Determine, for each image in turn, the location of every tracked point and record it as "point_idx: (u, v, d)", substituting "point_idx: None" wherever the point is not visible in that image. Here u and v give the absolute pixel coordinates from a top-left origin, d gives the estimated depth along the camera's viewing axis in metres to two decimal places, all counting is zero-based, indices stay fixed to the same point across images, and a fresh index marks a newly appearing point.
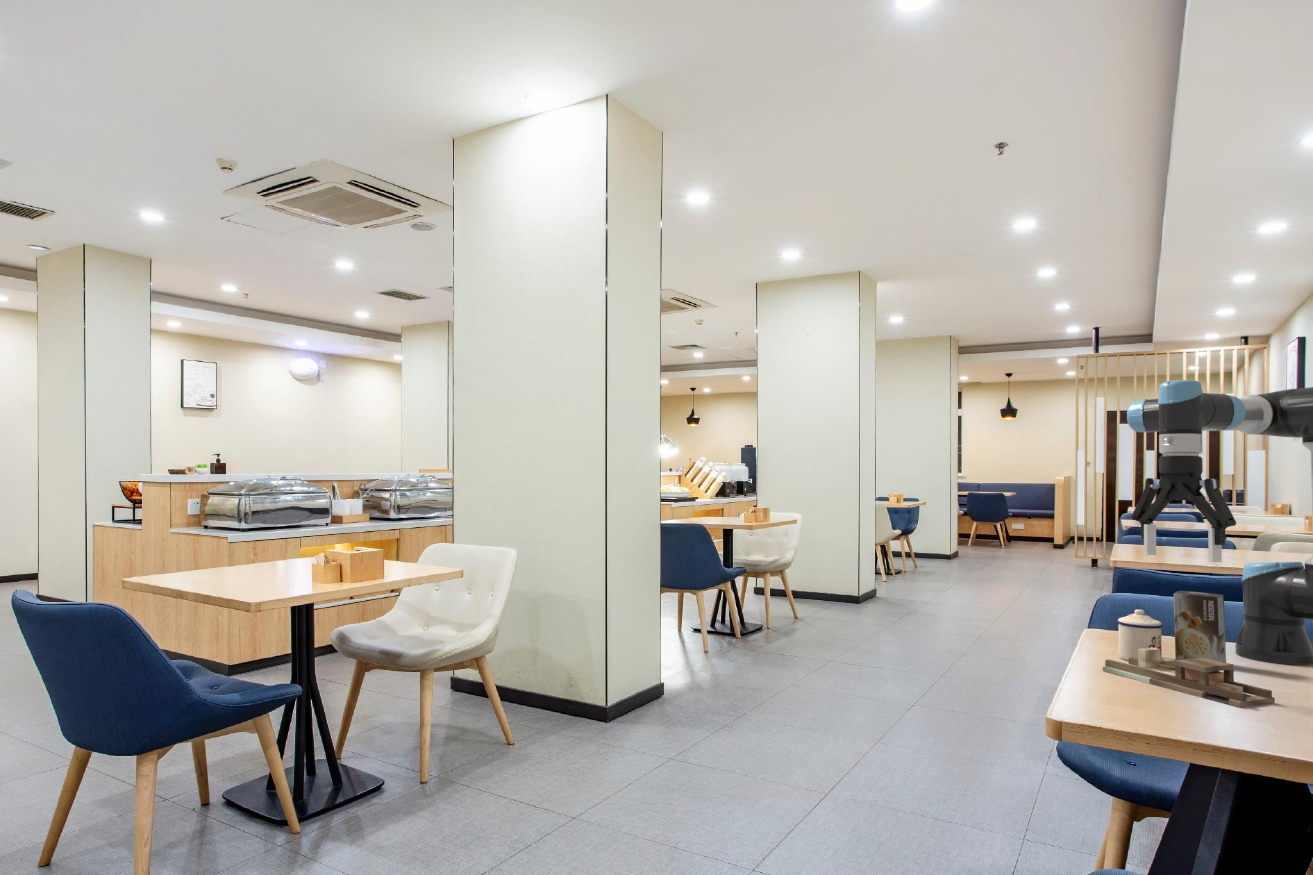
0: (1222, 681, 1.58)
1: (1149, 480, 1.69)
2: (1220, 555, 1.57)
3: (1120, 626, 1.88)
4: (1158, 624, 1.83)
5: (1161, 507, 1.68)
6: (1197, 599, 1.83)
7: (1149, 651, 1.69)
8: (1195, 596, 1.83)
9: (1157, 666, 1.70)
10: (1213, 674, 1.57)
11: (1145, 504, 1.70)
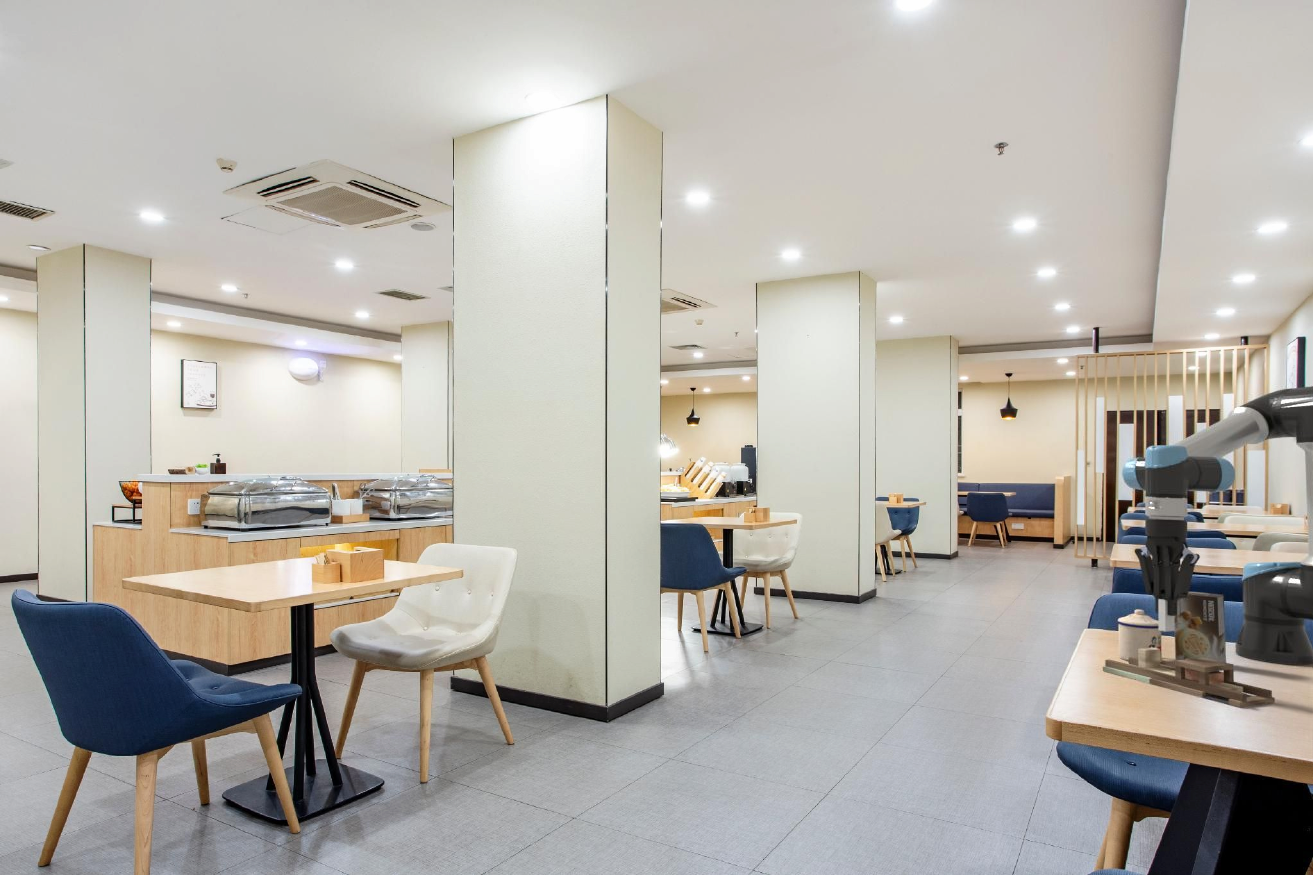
0: (1222, 681, 1.58)
1: (1137, 550, 1.72)
2: (1173, 625, 1.66)
3: (1120, 626, 1.88)
4: (1158, 624, 1.83)
5: (1163, 574, 1.68)
6: (1197, 599, 1.83)
7: (1149, 651, 1.69)
8: (1195, 596, 1.83)
9: (1157, 666, 1.70)
10: (1213, 674, 1.57)
11: (1149, 574, 1.70)
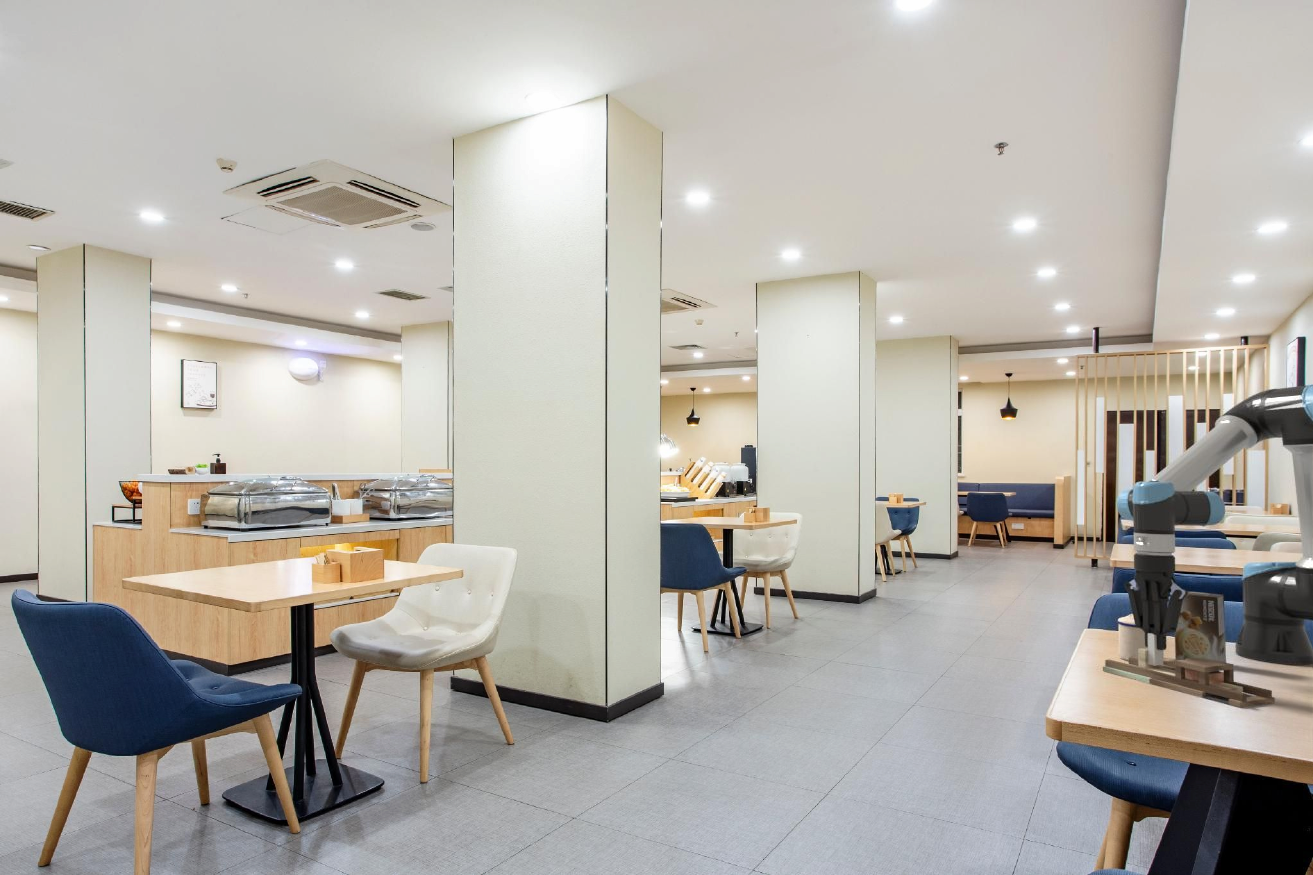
0: (1222, 681, 1.58)
1: (1126, 584, 1.74)
2: (1162, 658, 1.69)
3: (1120, 626, 1.88)
4: None
5: (1152, 608, 1.70)
6: (1197, 599, 1.83)
7: None
8: (1195, 596, 1.83)
9: (1157, 666, 1.70)
10: (1213, 674, 1.57)
11: (1138, 608, 1.72)
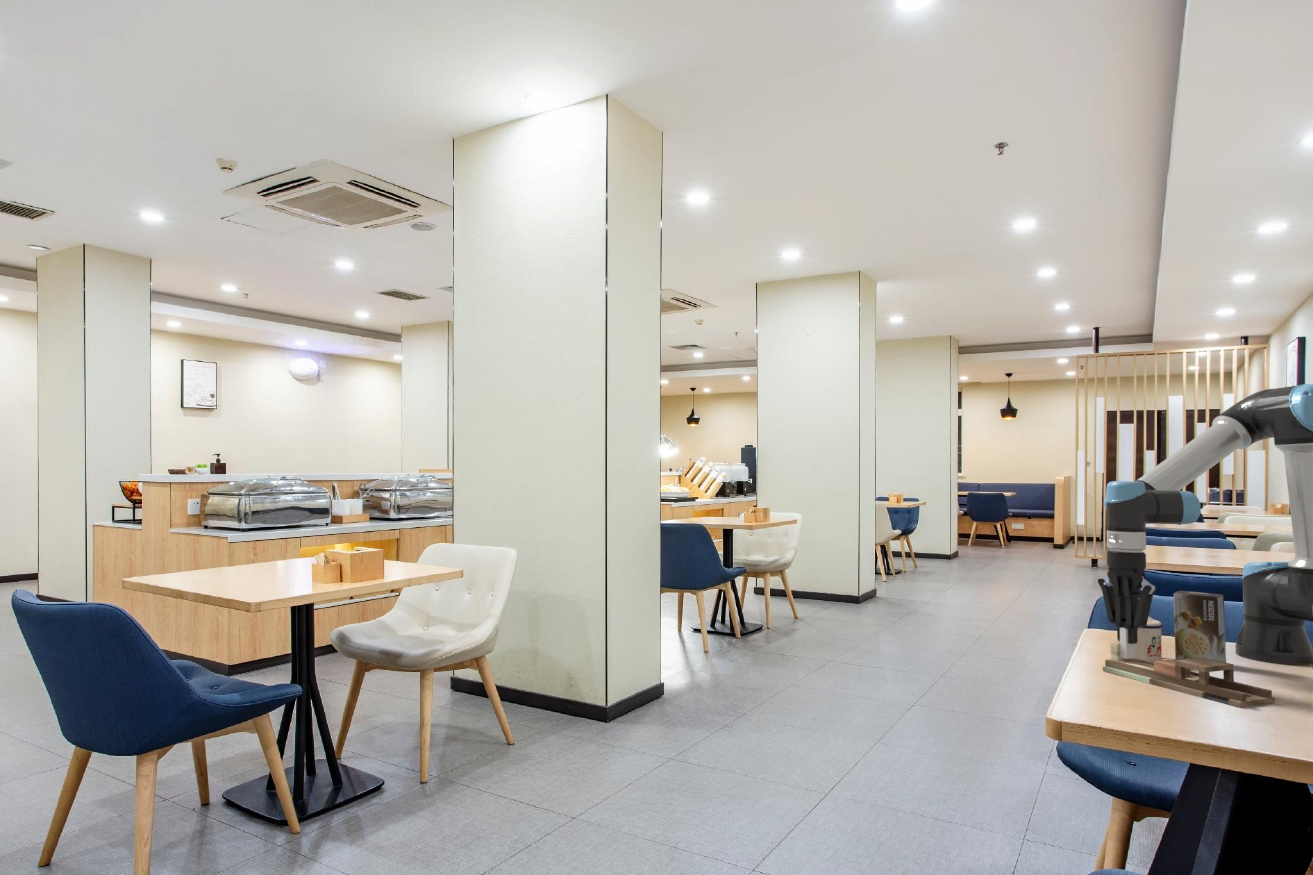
0: (1189, 673, 1.64)
1: (1100, 580, 1.80)
2: (1133, 652, 1.75)
3: None
4: (1158, 624, 1.83)
5: (1124, 603, 1.76)
6: (1196, 599, 1.83)
7: None
8: (1195, 596, 1.83)
9: (1129, 659, 1.76)
10: None
11: (1111, 603, 1.78)
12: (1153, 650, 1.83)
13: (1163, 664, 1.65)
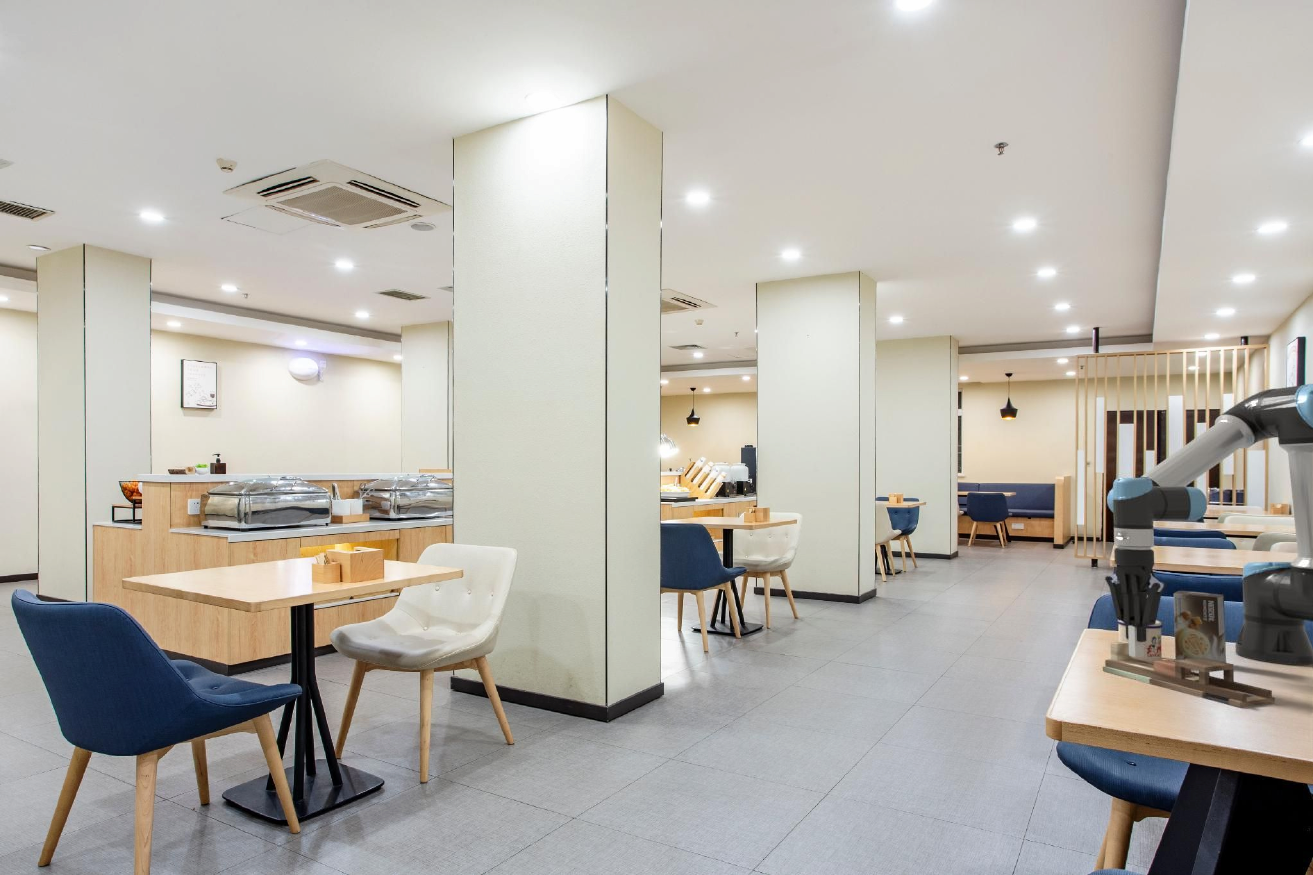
0: (1189, 673, 1.64)
1: (1108, 577, 1.79)
2: (1142, 650, 1.73)
3: (1120, 626, 1.88)
4: (1158, 624, 1.83)
5: (1133, 601, 1.75)
6: (1197, 599, 1.83)
7: (1121, 645, 1.75)
8: (1195, 596, 1.83)
9: (1129, 659, 1.76)
10: None
11: (1119, 601, 1.77)
12: (1153, 650, 1.83)
13: (1163, 664, 1.65)
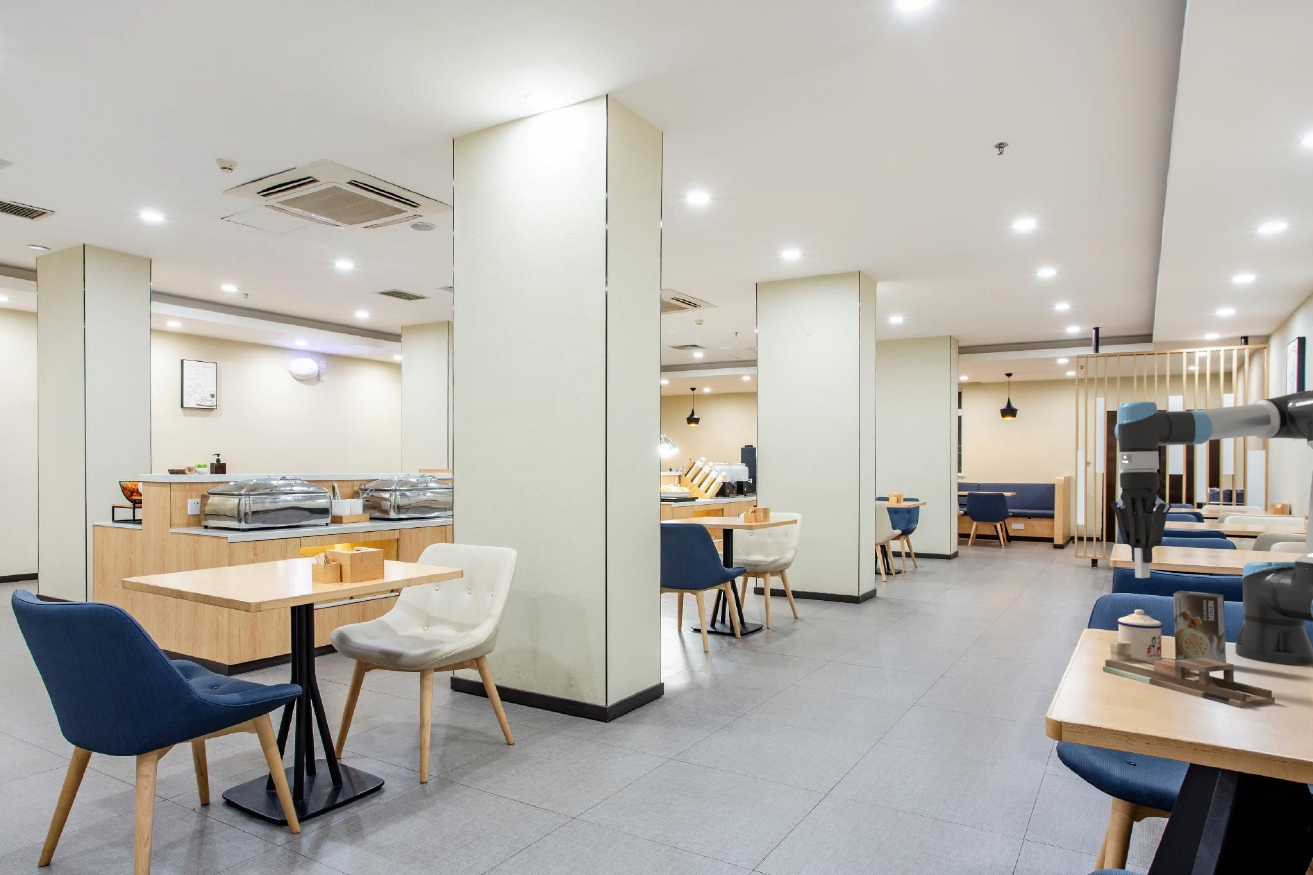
0: (1189, 673, 1.64)
1: (1113, 503, 1.81)
2: (1148, 571, 1.75)
3: (1120, 626, 1.88)
4: (1158, 624, 1.83)
5: (1138, 524, 1.77)
6: (1196, 599, 1.83)
7: (1121, 645, 1.75)
8: (1195, 596, 1.83)
9: (1129, 659, 1.76)
10: None
11: (1125, 525, 1.79)
12: (1153, 650, 1.83)
13: (1163, 664, 1.65)
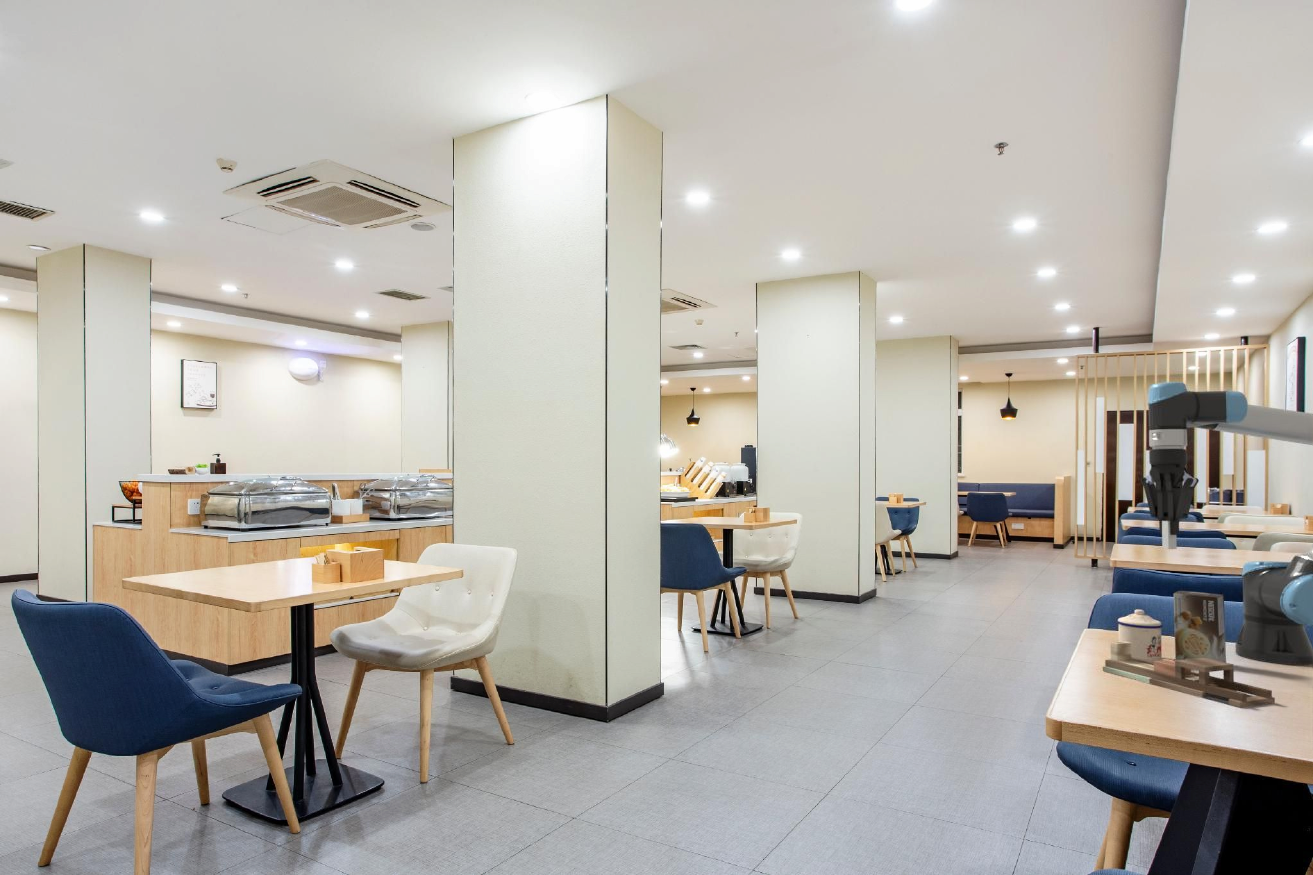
0: (1189, 673, 1.64)
1: (1142, 478, 1.91)
2: (1175, 543, 1.85)
3: (1120, 626, 1.88)
4: (1158, 624, 1.83)
5: (1166, 498, 1.87)
6: (1196, 599, 1.83)
7: (1121, 645, 1.75)
8: (1195, 596, 1.83)
9: (1129, 659, 1.76)
10: None
11: (1153, 499, 1.89)
12: (1153, 650, 1.83)
13: (1163, 664, 1.65)
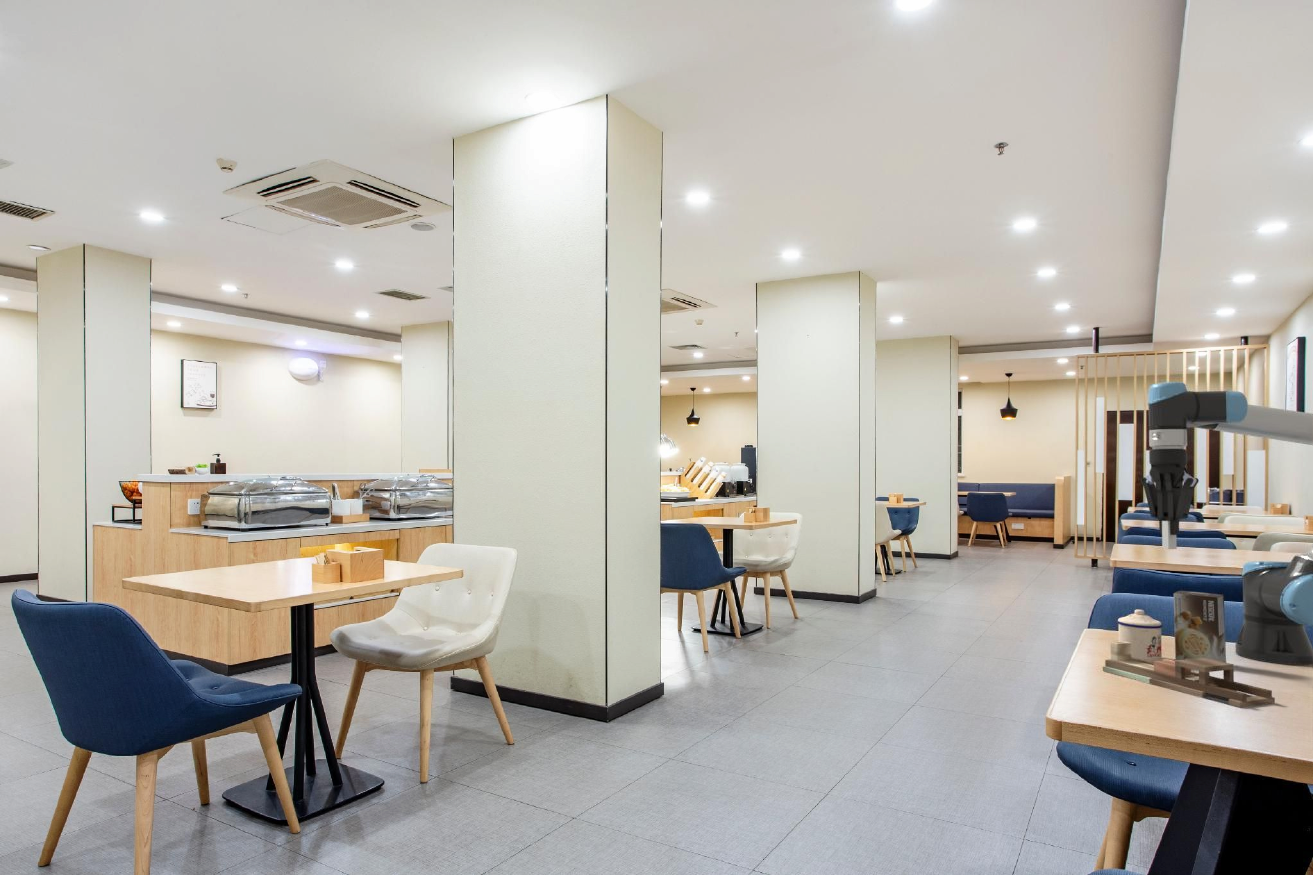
0: (1189, 673, 1.64)
1: (1142, 478, 1.91)
2: (1175, 543, 1.85)
3: (1120, 626, 1.88)
4: (1158, 624, 1.83)
5: (1166, 498, 1.87)
6: (1197, 599, 1.83)
7: (1121, 645, 1.75)
8: (1195, 596, 1.83)
9: (1129, 659, 1.76)
10: None
11: (1153, 499, 1.89)
12: (1153, 650, 1.83)
13: (1163, 664, 1.65)
